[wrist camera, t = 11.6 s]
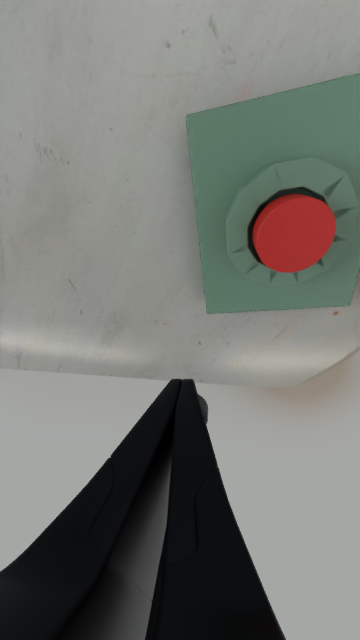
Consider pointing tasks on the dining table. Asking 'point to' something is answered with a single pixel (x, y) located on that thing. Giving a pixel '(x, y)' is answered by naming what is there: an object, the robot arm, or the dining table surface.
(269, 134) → the button housing
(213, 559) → the robot arm
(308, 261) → the button
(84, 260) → the dining table surface
